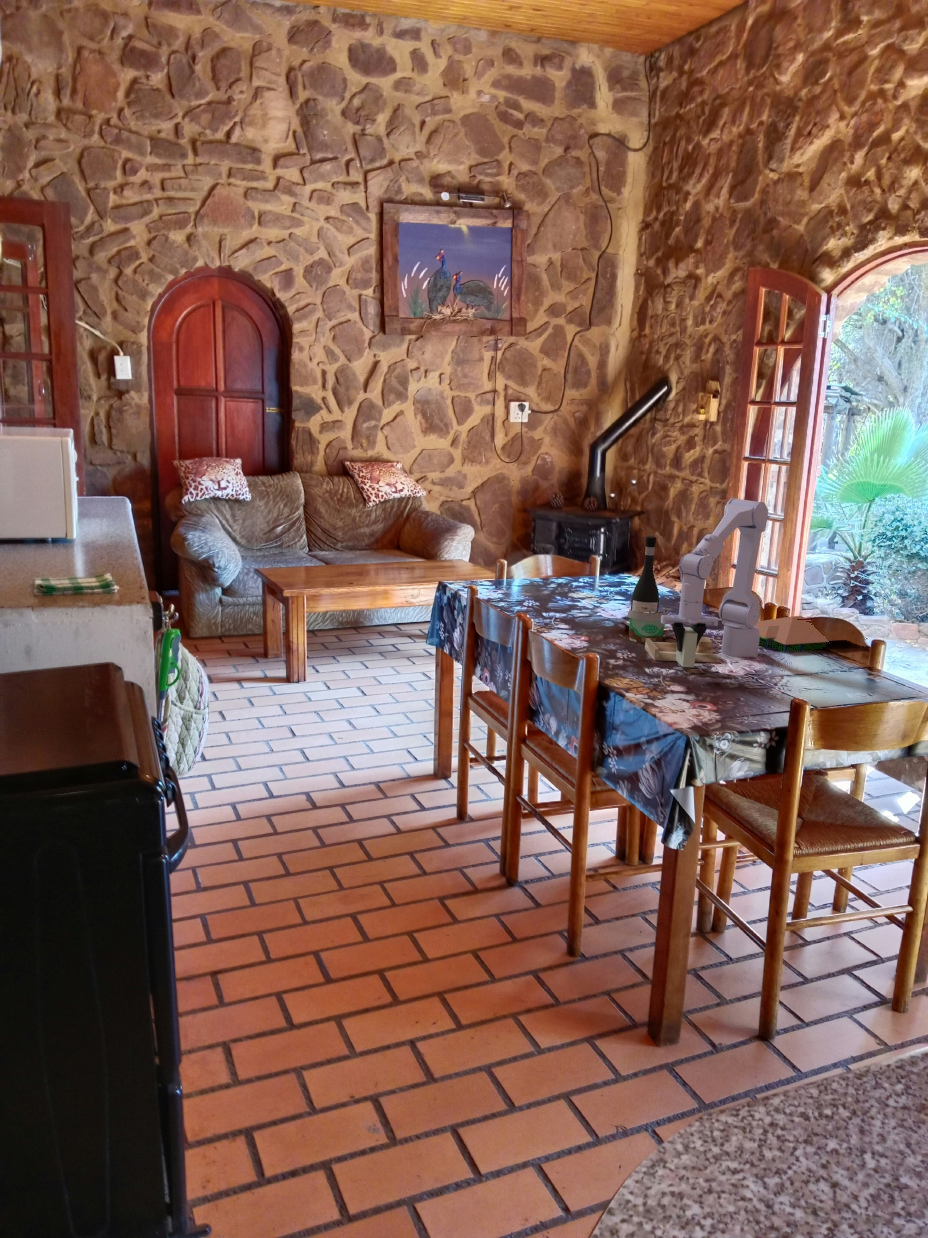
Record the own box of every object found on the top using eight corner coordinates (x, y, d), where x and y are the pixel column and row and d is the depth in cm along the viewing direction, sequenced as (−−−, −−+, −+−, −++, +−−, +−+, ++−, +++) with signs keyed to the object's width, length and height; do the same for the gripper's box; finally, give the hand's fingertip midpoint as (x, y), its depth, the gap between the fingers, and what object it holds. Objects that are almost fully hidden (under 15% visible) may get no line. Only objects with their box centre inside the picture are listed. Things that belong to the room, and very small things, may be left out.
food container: (633, 648, 282) (636, 614, 279) (624, 643, 288) (627, 609, 285) (673, 647, 285) (676, 613, 283) (663, 642, 291) (666, 608, 288)
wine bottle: (655, 641, 290) (665, 539, 283) (627, 639, 292) (636, 537, 285) (655, 635, 298) (665, 535, 291) (628, 632, 300) (637, 533, 292)
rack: (707, 654, 280) (709, 640, 279) (719, 665, 269) (721, 651, 268) (644, 652, 279) (645, 638, 278) (653, 663, 268) (655, 649, 267)
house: (726, 635, 304) (729, 609, 302) (813, 630, 316) (816, 604, 314) (775, 656, 283) (779, 628, 281) (866, 649, 295) (870, 622, 294)
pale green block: (686, 660, 265) (690, 627, 263) (694, 667, 259) (697, 633, 257) (675, 659, 265) (678, 626, 263) (682, 667, 258) (686, 633, 256)
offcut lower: (705, 653, 277) (706, 644, 277) (711, 659, 271) (712, 650, 271) (691, 652, 277) (692, 643, 276) (697, 658, 271) (698, 649, 271)
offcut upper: (706, 644, 276) (707, 637, 276) (711, 649, 271) (712, 642, 271) (693, 644, 276) (694, 636, 275) (698, 649, 271) (699, 641, 270)
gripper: (667, 602, 253) (662, 654, 257) (723, 604, 254) (718, 656, 258) (661, 596, 260) (656, 646, 263) (715, 598, 261) (710, 648, 264)
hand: (686, 651), depth 261 cm, fingers closed on pale green block, 3 cm apart
